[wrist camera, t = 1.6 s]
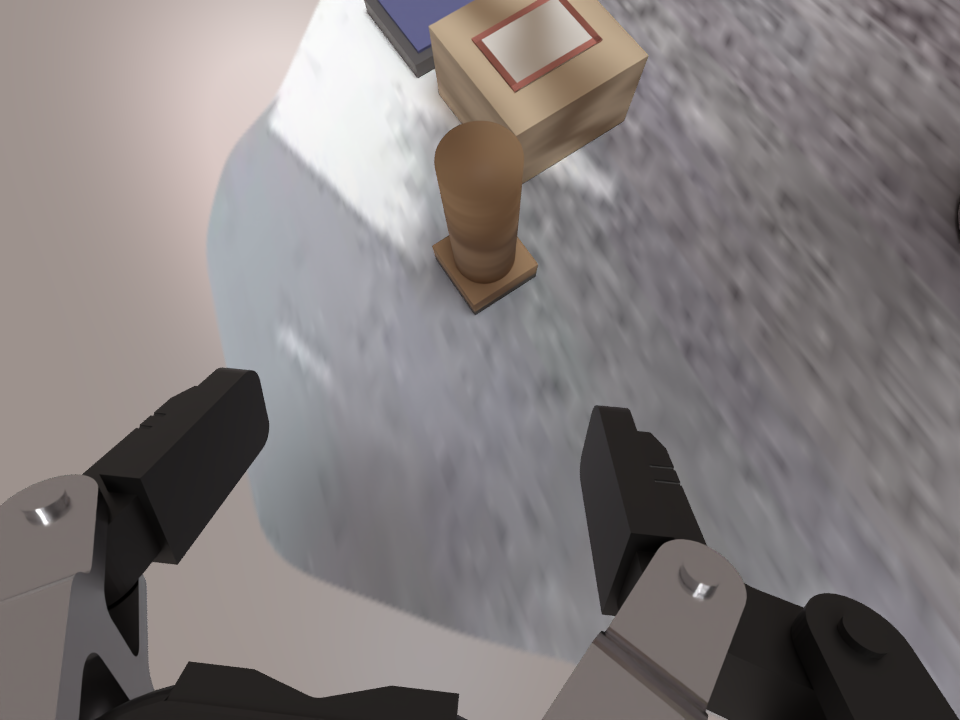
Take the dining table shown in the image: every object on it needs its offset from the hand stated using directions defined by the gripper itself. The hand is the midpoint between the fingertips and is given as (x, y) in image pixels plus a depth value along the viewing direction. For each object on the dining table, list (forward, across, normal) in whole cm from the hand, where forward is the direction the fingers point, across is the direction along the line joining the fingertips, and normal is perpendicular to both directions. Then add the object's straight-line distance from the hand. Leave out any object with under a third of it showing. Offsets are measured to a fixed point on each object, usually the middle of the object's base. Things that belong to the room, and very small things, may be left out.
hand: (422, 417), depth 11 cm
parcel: (+27, -2, -6) cm, 28 cm away
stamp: (+19, 0, +2) cm, 19 cm away
